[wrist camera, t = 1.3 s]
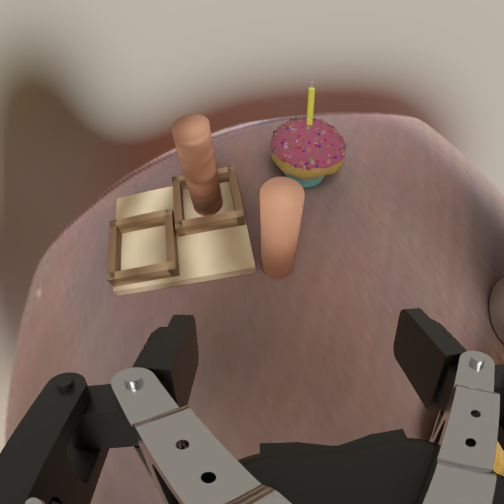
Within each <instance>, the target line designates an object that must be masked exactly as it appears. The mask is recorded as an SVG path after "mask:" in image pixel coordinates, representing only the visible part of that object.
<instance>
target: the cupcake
mask: <svg viewBox="0 0 504 504" xmlns="http://www.w3.org/2000/svg"><path fill="white" fill-rule="evenodd" d="M314 96H315V88H314V87H313V80H311V87H309V91H308V108H307V116H306V117H304V118H298V119H297V118H294V119H290V120H288V121H287V122H285V123H283V124H282V125H281V126H280V127H279V126H278V128H277V130H276V131H274V132H273V135H272V139H271V142H270V151H271V158H272V160H273V161H274V163H275V164H276V165H277V166H278V167H279V168H280V169H281V170H282V171H283V172H284V174H285V177H288V178H291V179H294V180H295V181H297V182H298V183H299V184H300V185H301V186H302V187H305V188H307V187H313V186H316V185H317V184H319V183H320V182H321V181H322V179H323V178H324V177H325V175H332V174H334V173H336V172H337V171H338V170H339V169H340V168H341V166H342V165H343V162H344V159H345V153H346V144H345V143H346V142H344V140H343V137H342V136H341V135H340V132H338V131H337V129H335V128H334V127H333V126H332V127H331V126H330V125H329V124H328V123H327V122H326V123H325V122H324V121H322V120H318V119H315V118H314V119H313V110H314Z"/></svg>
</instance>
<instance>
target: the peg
mask: <svg viewBox="0 0 504 504" xmlns="http://www.w3.org/2000/svg"><path fill="white" fill-rule="evenodd" d="M304 198H305V192H304V189H303V187H302V186H301V185H300V184H299V183H298V182H297V181H295V180H294V179H291V178H288V177H275V178H272V179H269V180H268V181H266V182H265V183H264V184H263V185H262V187H261V189H260V224H261V263H262V269H263V271H264V272H265V273H266V274H267V275H268V276H270V277H272V278H283V277H286V276H287V275H289V274H290V273H291V271H292V270H293V266H294V260H295V255H296V249H297V243H298V236H299V230H300V224H301V218H302V211H303V205H304Z"/></svg>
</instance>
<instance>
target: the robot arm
mask: <svg viewBox="0 0 504 504" xmlns="http://www.w3.org/2000/svg"><path fill="white" fill-rule="evenodd" d="M489 311H490V318H491V322H492V325H493V328H494V330H495V333H496V334H497V336H498V337H499V339H500V340H501V341H502V343H503V344H504V277H503V278H502V279H501V280H499V281H498V282H497V283H496V284H495V286H494V287H493V289H492V292H491V295H490V300H489ZM394 355H395V358H396V360H397V362H398V363H399V365H400V366H401V368H402V370H403V371H404V373H405V374H406V376H407V378H408V379H409V381H410V382H411V384H412V386H413V387H414V389H415V391H416V392H417V394H418V396H419V397H420V399H421V401H422V402H423V404H424V406H425V407H426V409H427V410H430V409H434V408H438V407H440V409H441V410H440V412H439V414H438V417H437V420H436V423H435V426H434V429H433V432H432V435H431V438H430V441H426V440H421V439H413V438H407V437H406V435H405V433H404V431H403V429H399V430H394V431H389V432H383V433H377V434H371V435H368V436H365V437H363V438H360V439H357V440H354V441H351V442H348V443H345V444H342V445H339V446H328V445H317V444H308V443H300V442H292V443H260V454H256V455H252V456H248V457H245V458H242V459H240V460H236V459H235V458H234V457H233V455H232V454H231V453H230V452H229V451H228V450H227V449H226V448H225V447H224V446H223V445H222V444H221V443H220V442H219V441H218V439H217V438H216V437H215V436H214V435H213V434H212V433H211V432H210V431H209V429H208V428H207V427H206V426H205V425H204V424H203V423H202V422H201V420H200V419H199V418H198V417H197V416H196V415H195V413H194V412H193V411H192V410H191V409H190V408H189V407H188V406H187V404H188V400H189V396H190V393H191V389H192V385H193V381H194V378H195V374H196V370H197V366H198V344H197V335H196V325H195V318H194V316H193V315H173V317H172V319H171V321H170V323H169V325H168V327H160V328H158V329H157V330H155V331H154V332H153V333H151V335H150V337H149V338H148V340H147V343H146V344H145V345H144V349H142V351H141V353H140V354H139V356H138V358H137V360H136V362H135V363H134V365H133V367H132V368H128V369H124V370H122V371H120V372H118V373H117V374H116V375H114V377H113V378H112V380H111V384H106V385H95V386H87V383H86V380H85V378H84V377H83V376H82V375H80V374H77V373H63V374H60V375H57V376H55V377H53V378H52V379H51V380H50V381H49V382H48V383H47V384H46V386H45V387H44V389H43V390H42V391H41V393H40V394H39V396H38V397H37V398H36V400H35V401H34V403H33V404H32V406H31V407H30V409H29V410H28V411H27V413H26V414H25V416H24V417H23V419H22V420H21V422H20V423H19V425H18V426H17V428H16V429H15V431H14V433H13V434H12V436H11V437H10V439H9V440H8V442H7V443H6V445H5V447H4V448H3V450H2V452H1V453H0V504H90V503H91V500H92V497H93V494H94V491H95V488H96V485H97V482H98V479H99V476H100V473H101V470H102V467H103V465H104V462H105V459H106V456H107V453H108V451H109V448H118V447H130V446H133V448H134V450H135V451H136V453H137V455H138V457H139V459H140V460H141V462H142V464H143V466H144V467H145V469H146V471H147V473H148V474H149V476H150V478H151V479H152V481H153V482H154V484H155V486H156V488H157V489H158V491H159V493H160V495H161V497H162V498H163V500H164V502H165V503H166V504H504V476H501V475H499V474H497V473H495V472H494V470H493V469H494V461H495V454H496V446H497V440H498V442H499V444H500V445H501V447H502V449H503V450H504V365H495V364H494V361H493V360H492V358H491V357H489V356H488V355H487V354H484V353H482V352H479V351H467V350H466V349H465V348H464V347H463V346H462V345H461V344H460V343H459V342H458V341H457V340H456V339H455V338H454V337H452V335H451V334H450V333H449V332H447V330H446V329H445V328H444V327H443V326H442V325H441V324H440V323H438V322H436V321H434V320H432V319H430V318H429V317H428V316H427V315H426V314H425V313H424V312H423V311H422V310H421V309H420V308H415V309H403V310H402V311H401V312H400V315H399V321H398V326H397V331H396V336H395V341H394Z"/></svg>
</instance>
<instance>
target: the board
mask: <svg viewBox="0 0 504 504" xmlns="http://www.w3.org/2000/svg"><path fill="white" fill-rule="evenodd" d="M171 131H172V134H173V138H174V141H175V145H176V149H177V152H178V156H179V159H180V163H181V166H182V170H183V173H184V175H180V176H175V177H172V181H173V186H171V187H166V188H161V189H156V190H152V191H147V192H143V193H138V194H134V195H129V196H125V197H121V198H117V206H116V220H113V221H110V233H109V250H108V281H109V282H110V283H111V284H112V285H113V292H114V293H115V294H116V295H117V296H121V295H127V294H133V293H139V292H145V291H151V290H157V289H163V288H169V287H175V286H181V285H187V284H193V283H199V282H204V281H210V280H216V279H221V278H227V277H233V276H238V275H244V274H249V273H255V272H256V268H255V262H254V258H253V253H252V248H251V243H250V239H249V234H248V229H247V224H246V220H245V215H244V210H243V205H242V201H241V196H240V191H239V186H238V182H237V177H236V172H235V167H234V166H229V167H223V168H217V166H216V160H215V154H214V149H213V143H212V137H211V131H210V125H209V120H208V119H207V118H206V117H205V116H203V115H199V114H190V115H186V116H183V117H181V118H179V119H178V120H176V121H175V122H174V123H173V125H172V128H171Z"/></svg>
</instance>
